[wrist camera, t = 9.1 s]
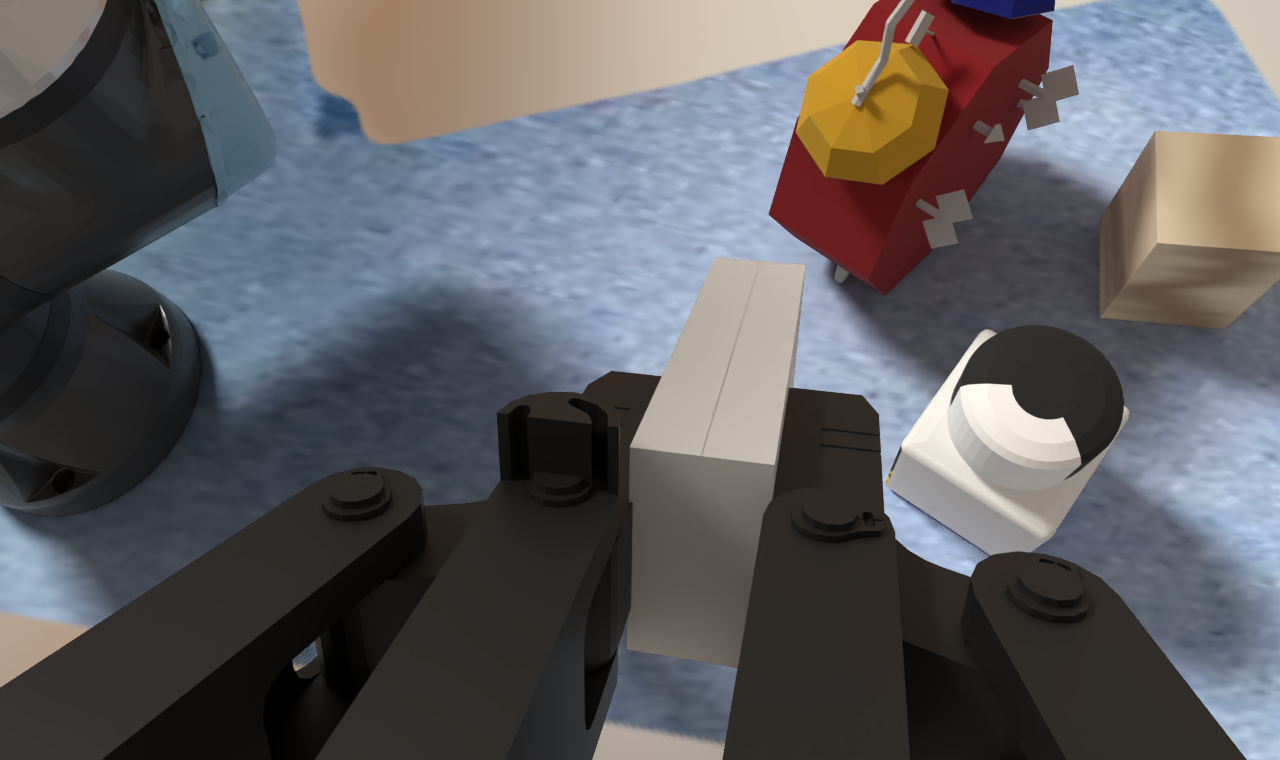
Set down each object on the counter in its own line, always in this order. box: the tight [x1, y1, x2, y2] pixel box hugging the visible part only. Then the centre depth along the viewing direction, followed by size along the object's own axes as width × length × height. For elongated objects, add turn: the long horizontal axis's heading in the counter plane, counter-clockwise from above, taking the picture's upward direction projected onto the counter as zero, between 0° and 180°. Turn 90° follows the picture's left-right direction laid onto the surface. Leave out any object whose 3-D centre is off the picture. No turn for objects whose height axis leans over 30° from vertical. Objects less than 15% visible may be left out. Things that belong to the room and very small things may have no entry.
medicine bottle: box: [886, 326, 1130, 556], centre depth 40 cm, size 7×7×12 cm
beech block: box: [1100, 131, 1280, 329], centre depth 44 cm, size 6×6×8 cm
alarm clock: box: [769, 0, 1079, 295], centre depth 42 cm, size 15×9×20 cm, turn 138°
